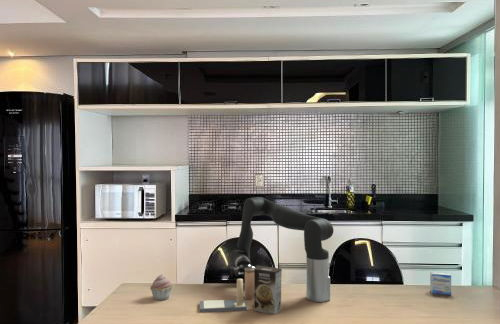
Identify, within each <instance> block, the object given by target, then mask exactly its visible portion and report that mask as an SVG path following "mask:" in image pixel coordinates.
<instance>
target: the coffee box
mask: <svg viewBox="0 0 500 324" xmlns="http://www.w3.org/2000/svg"><path fill="white" fill-rule="evenodd" d="M259 266H260V267H257V268H256V269H254V270H255V271H254V299H253V303H254V305H253V311H255V312H259V313H264V314H270V315H277V314H278V313H279V312H280V311H281V310H282V276H283V275H282V274H283V273H282V272H283V271H282V268H278V267H271V266H265V265H259Z"/></svg>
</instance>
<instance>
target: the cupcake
mask: <svg viewBox="0 0 500 324" xmlns="http://www.w3.org/2000/svg"><path fill="white" fill-rule="evenodd" d="M172 288H173V285H172V281H171V280H169V278H167V277H166V276H164V274H160V275H158V276H157V277H156V278H155V279H154V280H153V282H152V285H151V286H150V287H149V289H150V291H151V293H152V298H153V300H155V301H166V300H168V299H169V298H170V295H171V291H172Z"/></svg>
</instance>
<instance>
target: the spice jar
mask: <svg viewBox="0 0 500 324" xmlns="http://www.w3.org/2000/svg"><path fill="white" fill-rule="evenodd" d="M254 269H256V268H253V267H247V268H245V269H244V271H245V275H244V300H245V299H246V300H254V271H255V270H254Z"/></svg>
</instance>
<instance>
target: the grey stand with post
mask: <svg viewBox="0 0 500 324" xmlns="http://www.w3.org/2000/svg"><path fill="white" fill-rule="evenodd" d="M236 311H237V312H239V311H241V312H242V311H248V307H247V304H246V301H245V298H244V279H243V278H236V299H217V300H216V299H212V300H211V299H209V300H200V301H199V313H212V312H213V313H217V312H236Z"/></svg>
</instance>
